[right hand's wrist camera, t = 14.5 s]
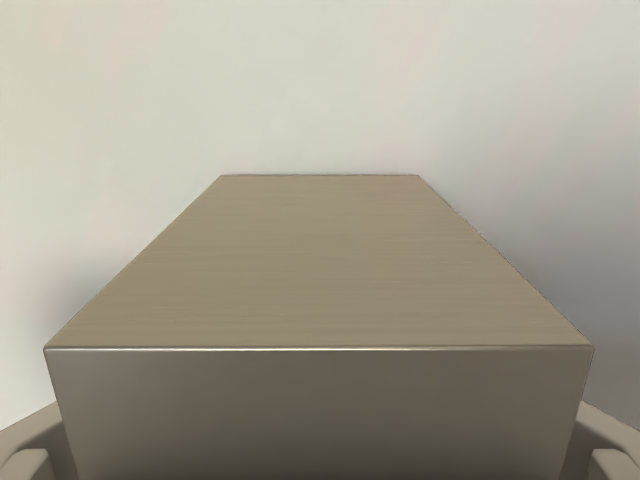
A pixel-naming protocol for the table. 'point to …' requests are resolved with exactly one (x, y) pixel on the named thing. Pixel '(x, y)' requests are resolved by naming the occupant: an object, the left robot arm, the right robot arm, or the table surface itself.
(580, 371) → the box
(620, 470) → the right robot arm
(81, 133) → the table surface
